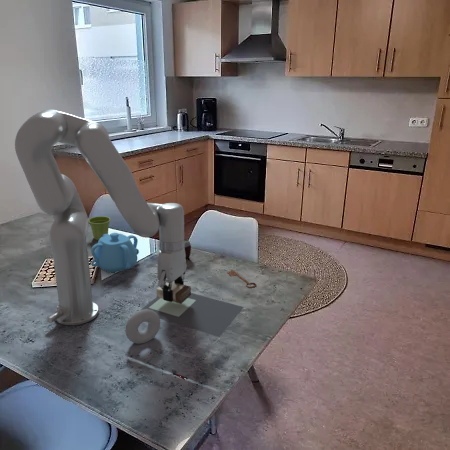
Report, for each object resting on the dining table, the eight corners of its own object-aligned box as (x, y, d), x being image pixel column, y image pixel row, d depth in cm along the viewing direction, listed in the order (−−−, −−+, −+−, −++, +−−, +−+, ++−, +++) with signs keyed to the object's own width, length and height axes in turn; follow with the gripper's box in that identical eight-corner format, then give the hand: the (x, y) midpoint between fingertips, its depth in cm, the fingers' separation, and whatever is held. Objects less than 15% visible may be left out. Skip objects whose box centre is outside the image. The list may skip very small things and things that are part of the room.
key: (223, 274, 155) (244, 291, 143) (223, 272, 155) (244, 289, 142) (236, 270, 157) (258, 286, 145) (236, 268, 157) (257, 284, 145)
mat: (219, 338, 116) (219, 336, 115) (138, 313, 127) (138, 311, 126) (243, 308, 131) (243, 306, 131) (169, 288, 142) (169, 286, 142)
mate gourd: (188, 263, 161) (188, 228, 156) (169, 261, 162) (168, 226, 157) (192, 255, 168) (192, 221, 163) (174, 254, 169) (173, 220, 164)
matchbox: (165, 379, 100) (165, 377, 100) (179, 368, 104) (179, 367, 104) (178, 388, 97) (178, 386, 97) (193, 377, 101) (193, 375, 101)
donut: (157, 333, 117) (156, 302, 114) (162, 339, 115) (162, 308, 111) (124, 344, 112) (122, 312, 108) (129, 351, 109) (127, 319, 106)
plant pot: (116, 237, 185) (115, 218, 182) (100, 243, 177) (98, 224, 175) (101, 232, 190) (100, 214, 187) (85, 238, 182) (83, 220, 179)
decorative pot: (86, 273, 151) (82, 239, 146) (105, 256, 165) (103, 224, 161) (128, 278, 148) (125, 244, 143) (144, 260, 163) (142, 228, 158)
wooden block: (190, 295, 131) (190, 286, 130) (181, 303, 126) (180, 295, 125) (167, 288, 135) (166, 280, 134) (156, 297, 130) (156, 288, 129)
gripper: (176, 232, 133) (177, 281, 139) (145, 251, 118) (148, 305, 125) (196, 236, 130) (197, 286, 136) (167, 256, 115) (169, 311, 122)
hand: (173, 295), depth 130 cm, fingers closed on wooden block, 5 cm apart
